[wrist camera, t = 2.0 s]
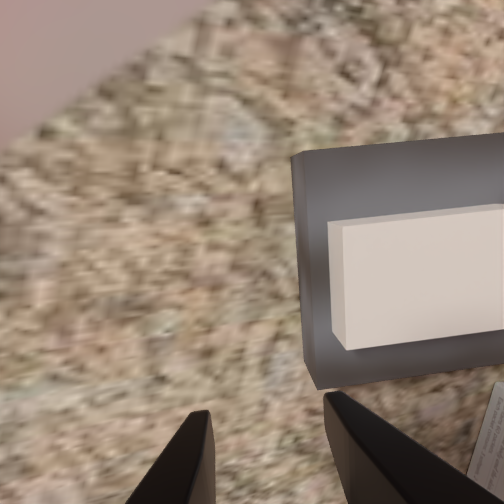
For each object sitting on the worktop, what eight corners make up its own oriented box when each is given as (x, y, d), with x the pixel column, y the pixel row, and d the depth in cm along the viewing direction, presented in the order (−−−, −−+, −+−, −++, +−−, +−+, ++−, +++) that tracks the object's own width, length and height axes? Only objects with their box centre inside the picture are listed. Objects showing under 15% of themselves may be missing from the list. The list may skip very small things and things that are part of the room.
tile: (487, 310, 17) (521, 326, 15) (332, 331, 17) (346, 350, 15) (495, 203, 16) (533, 205, 14) (327, 221, 15) (342, 226, 13)
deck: (475, 337, 21) (515, 361, 18) (304, 360, 20) (317, 390, 17) (488, 138, 18) (538, 129, 15) (290, 157, 17) (303, 150, 14)
